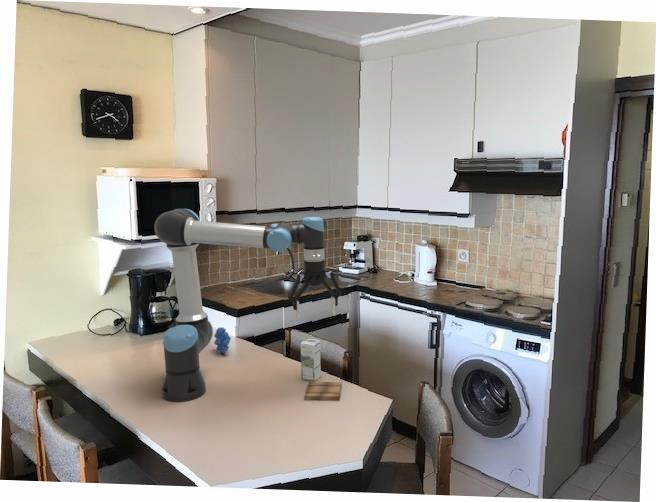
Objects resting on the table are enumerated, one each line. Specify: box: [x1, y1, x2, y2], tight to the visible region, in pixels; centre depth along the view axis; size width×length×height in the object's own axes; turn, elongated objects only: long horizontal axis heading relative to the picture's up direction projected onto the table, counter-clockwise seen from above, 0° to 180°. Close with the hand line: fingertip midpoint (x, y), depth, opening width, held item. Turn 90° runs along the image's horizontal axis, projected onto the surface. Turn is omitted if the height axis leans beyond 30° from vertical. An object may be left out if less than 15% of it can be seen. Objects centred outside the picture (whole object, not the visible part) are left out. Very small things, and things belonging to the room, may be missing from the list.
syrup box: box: [300, 338, 322, 382], centre depth 197 cm, size 6×6×14 cm
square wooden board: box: [303, 381, 343, 402], centre depth 184 cm, size 12×12×2 cm
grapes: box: [213, 326, 232, 355], centre depth 225 cm, size 12×7×12 cm, turn 37°
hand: (315, 316), depth 193 cm, fingers open, 13 cm apart
